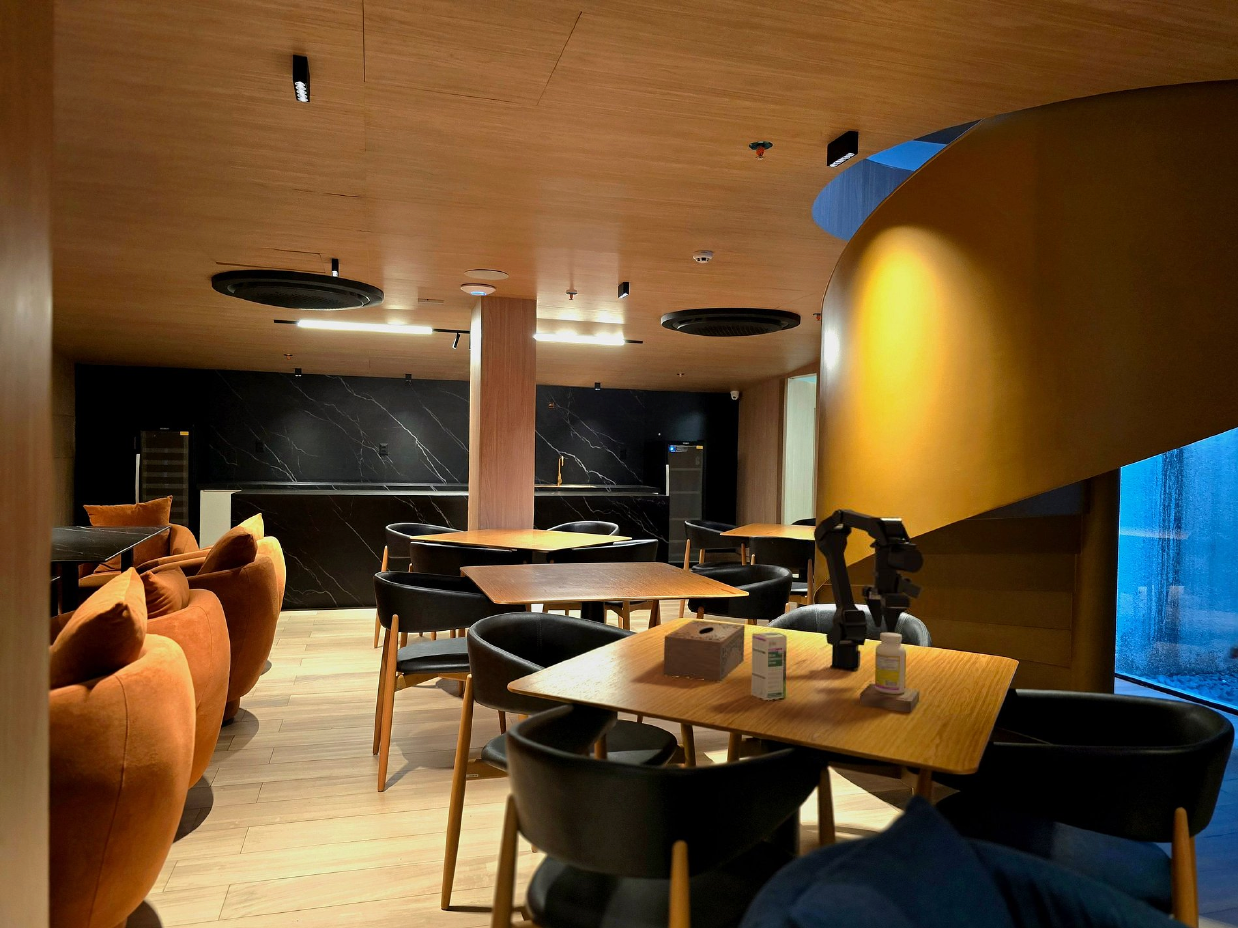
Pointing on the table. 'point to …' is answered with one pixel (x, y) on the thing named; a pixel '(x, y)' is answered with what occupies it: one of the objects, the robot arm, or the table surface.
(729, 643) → the tissue box cover
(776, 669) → the syrup box
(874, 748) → the table surface
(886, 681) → the supplement bottle
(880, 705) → the plinth
